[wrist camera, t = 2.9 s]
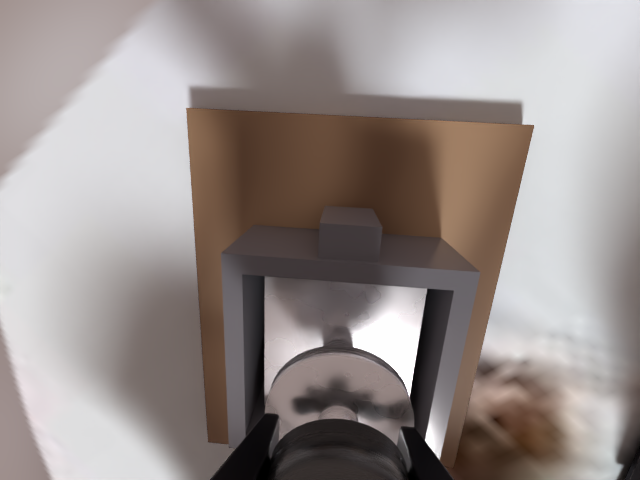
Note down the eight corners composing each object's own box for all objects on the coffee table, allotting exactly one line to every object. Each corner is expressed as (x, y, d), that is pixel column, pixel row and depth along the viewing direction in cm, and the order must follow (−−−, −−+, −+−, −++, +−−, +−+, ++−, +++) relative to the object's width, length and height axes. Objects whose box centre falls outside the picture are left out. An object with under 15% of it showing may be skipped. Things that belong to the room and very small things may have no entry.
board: (522, 126, 13) (534, 125, 12) (448, 454, 18) (453, 467, 17) (195, 110, 14) (186, 107, 13) (213, 430, 19) (208, 442, 18)
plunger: (423, 282, 12) (528, 455, 5) (402, 407, 14) (462, 660, 7) (268, 270, 12) (177, 419, 5) (267, 394, 14) (198, 624, 7)
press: (446, 210, 13) (488, 236, 9) (414, 392, 16) (437, 469, 12) (253, 198, 14) (219, 217, 10) (255, 378, 16) (228, 447, 13)
